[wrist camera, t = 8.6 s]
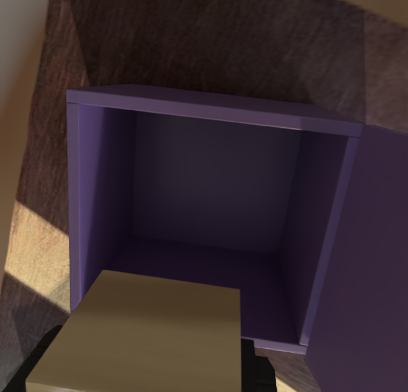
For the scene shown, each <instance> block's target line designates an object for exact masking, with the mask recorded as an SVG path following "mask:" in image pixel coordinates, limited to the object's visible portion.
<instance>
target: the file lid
mask: <svg viewBox="0 0 408 392" xmlns="http://www.w3.org/2000/svg"><path fill="white" fill-rule="evenodd" d="M304 361H305V363H306V365H307V367H308V368H309V370H310V372H311V374H312V376H313V377H314V379H315V381H316V383H317V384H318V386H319V388H320V390H321V392H408V134H407V133H403V132H399V131H395V130H391V129H387V128H383V127H379V126H376V125H366V124H364V125H363V127H362V131H361V135H360V139H359V143H358V147H357V151H356V155H355V159H354V163H353V167H352V171H351V175H350V179H349V183H348V187H347V191H346V195H345V199H344V203H343V207H342V211H341V215H340V219H339V223H338V227H337V231H336V235H335V239H334V243H333V246H332V250H331V254H330V258H329V262H328V266H327V270H326V274H325V278H324V282H323V286H322V290H321V294H320V298H319V302H318V306H317V310H316V314H315V318H314V322H313V326H312V330H311V334H310V338H309V342H308V346H307V350H306V354H305V358H304Z"/></svg>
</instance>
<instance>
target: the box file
mask: <svg viewBox="0 0 408 392" xmlns="http://www.w3.org/2000/svg"><path fill="white" fill-rule="evenodd" d="M66 101H67V103H66V108H67V158H68V209H69V259H70V310H71V314H72V313H73V311H74V310H75V309H76V307H77V306H78V304H79V303H80V302H81V300H82V299H83V297H84V296H85V294H86V293H87V292H88V290H89V289H90V287H91V286H92V284H93V283H94V282H95V280H96V279H97V277H98V276H99V274H100V273H101V272H102V270H109V271H116V272H123V273H130V274H137V275H144V276H151V277H158V278H165V279H172V280H179V281H186V282H193V283H199V284H206V285H213V286H220V287H227V288H234V289H240V315H241V338H245V339H252V340H254V347H260V348H266V349H273V350H280V351H286V352H293V353H299V354H306V350H307V346H308V342H309V338H310V334H311V330H312V326H313V322H314V318H315V314H316V310H317V306H318V302H319V298H320V294H321V290H322V286H323V282H324V278H325V274H326V270H327V266H328V262H329V258H330V254H331V250H332V246H333V243H334V239H335V235H336V231H337V227H338V223H339V219H340V215H341V211H342V207H343V203H344V199H345V195H346V191H347V187H348V183H349V179H350V175H351V171H352V167H353V163H354V159H355V155H356V151H357V147H358V143H359V139H360V135H361V131H362V127H363V125H364V124H365V123H362V122H360V121H357V120H354V119H351V118H349V117H346V116H343V115H341V114H338V113H335V112H333V111H330V110H327V109H325V108H322V107H319V106H317V105H313V104H305V103H296V102H287V101H279V100H270V99H261V98H253V97H244V96H236V95H227V94H218V93H210V92H201V91H192V90H184V89H175V88H166V87H158V86H149V85H140V84H122V85H108V86H94V87H81V88H67V89H66Z"/></svg>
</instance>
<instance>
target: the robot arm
mask: <svg viewBox="0 0 408 392" xmlns="http://www.w3.org/2000/svg"><path fill="white" fill-rule="evenodd" d="M62 327H63V326H62V325H58V326H56V327H55V328H53V329H52V330H50V331H49V332H47V333H46V334H45V335H44V336H43V338H42V339H41V340H40V342H39V343H38V344H37V347H35V348H34V350H33V351H32V352H31V354H30V356H29V357H28V358H27V359H26V360H25V362H24V363H23V364H22V366H21V367H20V368H19V370H18V371H17V372H16V374H15V375H14V376H13V378H12V379H11V380H10V382H9V383H8V384H7V386H6V387H5V389H4V390H3V391H2V392H26V383H25V381H26V379H27V377H28V376H29V374H30V373H31V371H32V370H33V369H34V367H35V366H36V364H37V363H38V361H39V360H40V359H41V357H42V356H43V354H44V353H45V351H46V350H47V349H48V347H49V346H50V344H51V343H52V341H53V340H54V339H55V337H56V336H57V334H58V333H59V331H60V330H61V329H62ZM241 392H277V386H276V378H275V370H274V368H273V366H272V365H271V363H270V361H269V360H268V358H267V357H261V356H255V350H254V340H252V339H245V338H241Z"/></svg>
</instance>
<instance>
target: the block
mask: <svg viewBox="0 0 408 392" xmlns="http://www.w3.org/2000/svg"><path fill="white" fill-rule="evenodd" d="M25 383H26V392H241V315H240V289H234V288H227V287H220V286H213V285H206V284H199V283H193V282H186V281H179V280H172V279H165V278H158V277H151V276H144V275H137V274H130V273H123V272H116V271H109V270H102V272H101V273H100V274H99V276H98V277H97V279H96V280H95V282H94V283H93V284H92V286H91V287H90V289H89V290H88V292H87V293H86V294H85V296H84V297H83V299H82V300H81V302H80V303H79V304H78V306H77V307H76V309H75V310H74V311H73V313H72V314H71V316H70V317H69V319H68V320H67V321H66V323H65V324H64V326H63V327H62V329H61V330H60V331H59V333H58V334H57V336H56V337H55V339H54V340H53V341H52V343H51V344H50V346H49V347H48V349H47V350H46V351H45V353H44V354H43V356H42V357H41V359H40V360H39V361H38V363H37V364H36V366H35V367H34V369H33V370H32V371H31V373H30V374H29V376H28V377H27V379H26V381H25Z"/></svg>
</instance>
